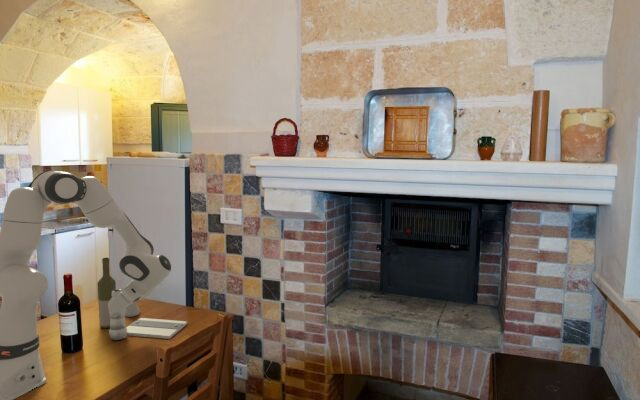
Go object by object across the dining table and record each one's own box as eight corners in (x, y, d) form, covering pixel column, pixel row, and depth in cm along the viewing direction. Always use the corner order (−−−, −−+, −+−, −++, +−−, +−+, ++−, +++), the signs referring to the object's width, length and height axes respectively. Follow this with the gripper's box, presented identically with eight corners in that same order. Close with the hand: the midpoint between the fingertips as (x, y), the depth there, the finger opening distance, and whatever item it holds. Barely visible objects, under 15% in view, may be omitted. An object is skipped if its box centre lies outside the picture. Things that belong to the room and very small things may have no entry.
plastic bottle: (127, 340, 178) (125, 292, 176) (108, 343, 176) (106, 294, 174) (127, 334, 184) (126, 287, 182) (109, 336, 182) (108, 289, 180)
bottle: (120, 323, 196) (118, 256, 193) (111, 329, 189) (108, 260, 186) (104, 322, 196) (102, 256, 193) (95, 329, 189) (93, 259, 186)
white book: (169, 338, 181) (169, 334, 181) (119, 334, 184) (119, 330, 184) (186, 324, 197) (186, 320, 197) (140, 320, 200) (140, 316, 200)
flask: (119, 316, 205) (119, 295, 204) (130, 310, 212) (130, 290, 210) (132, 318, 203) (132, 296, 201) (143, 312, 209) (143, 292, 208)
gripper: (148, 275, 186) (127, 296, 189) (119, 289, 166) (96, 313, 169) (158, 286, 186) (137, 307, 189) (130, 302, 166) (107, 325, 169)
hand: (118, 310), depth 179 cm, fingers open, 8 cm apart
